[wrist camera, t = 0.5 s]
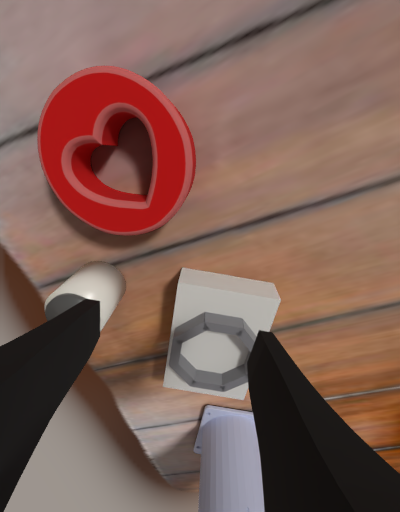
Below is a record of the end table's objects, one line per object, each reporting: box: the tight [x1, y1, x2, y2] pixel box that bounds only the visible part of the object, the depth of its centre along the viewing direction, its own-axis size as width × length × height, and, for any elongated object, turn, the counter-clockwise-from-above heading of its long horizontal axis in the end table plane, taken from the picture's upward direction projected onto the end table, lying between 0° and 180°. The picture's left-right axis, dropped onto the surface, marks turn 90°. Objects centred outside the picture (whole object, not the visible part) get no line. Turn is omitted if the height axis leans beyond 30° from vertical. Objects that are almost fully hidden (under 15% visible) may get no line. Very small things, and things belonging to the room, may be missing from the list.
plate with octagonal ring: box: [163, 267, 281, 400], centre depth 21 cm, size 12×8×4 cm, turn 171°
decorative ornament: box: [38, 66, 196, 236], centre depth 16 cm, size 10×10×3 cm
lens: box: [45, 261, 126, 331], centre depth 19 cm, size 4×4×5 cm
